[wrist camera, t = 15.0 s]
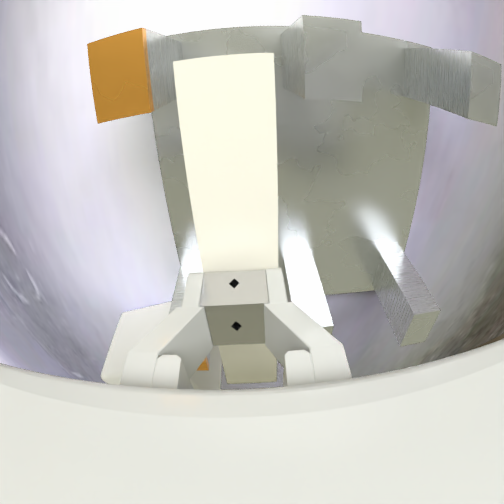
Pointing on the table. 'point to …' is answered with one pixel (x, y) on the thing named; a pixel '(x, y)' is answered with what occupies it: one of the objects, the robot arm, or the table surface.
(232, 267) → the panel
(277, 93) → the panel rack
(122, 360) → the medicine bottle
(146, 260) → the table surface
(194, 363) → the robot arm
